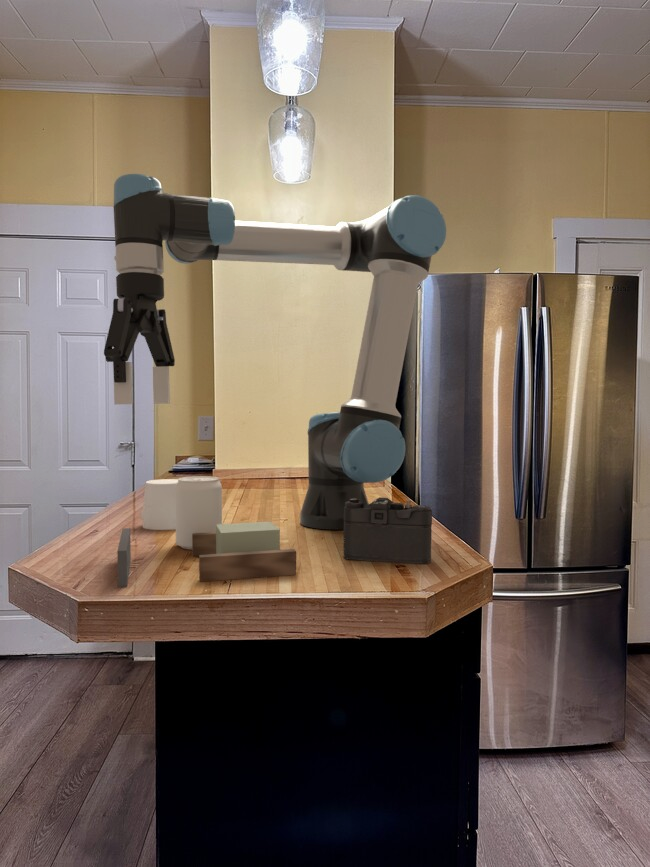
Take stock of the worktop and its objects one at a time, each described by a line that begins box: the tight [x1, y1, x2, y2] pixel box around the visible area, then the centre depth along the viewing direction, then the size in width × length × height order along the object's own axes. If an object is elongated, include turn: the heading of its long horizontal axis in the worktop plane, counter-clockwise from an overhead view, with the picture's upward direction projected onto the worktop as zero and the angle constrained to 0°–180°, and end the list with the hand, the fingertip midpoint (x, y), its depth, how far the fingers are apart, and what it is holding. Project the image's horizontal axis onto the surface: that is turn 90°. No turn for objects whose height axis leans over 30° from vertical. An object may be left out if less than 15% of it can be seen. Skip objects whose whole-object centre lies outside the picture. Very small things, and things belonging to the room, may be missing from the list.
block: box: [216, 521, 281, 554], centre depth 99 cm, size 9×7×6 cm
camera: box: [342, 497, 433, 565], centre depth 104 cm, size 14×11×10 cm
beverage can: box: [175, 475, 223, 550], centre depth 111 cm, size 8×8×12 cm
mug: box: [140, 478, 179, 531], centre depth 128 cm, size 12×9×8 cm
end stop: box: [116, 527, 132, 588], centre depth 94 cm, size 1×16×5 cm, turn 15°
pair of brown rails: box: [191, 532, 297, 583], centre depth 99 cm, size 14×17×4 cm
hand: (144, 404), depth 104 cm, fingers open, 13 cm apart
